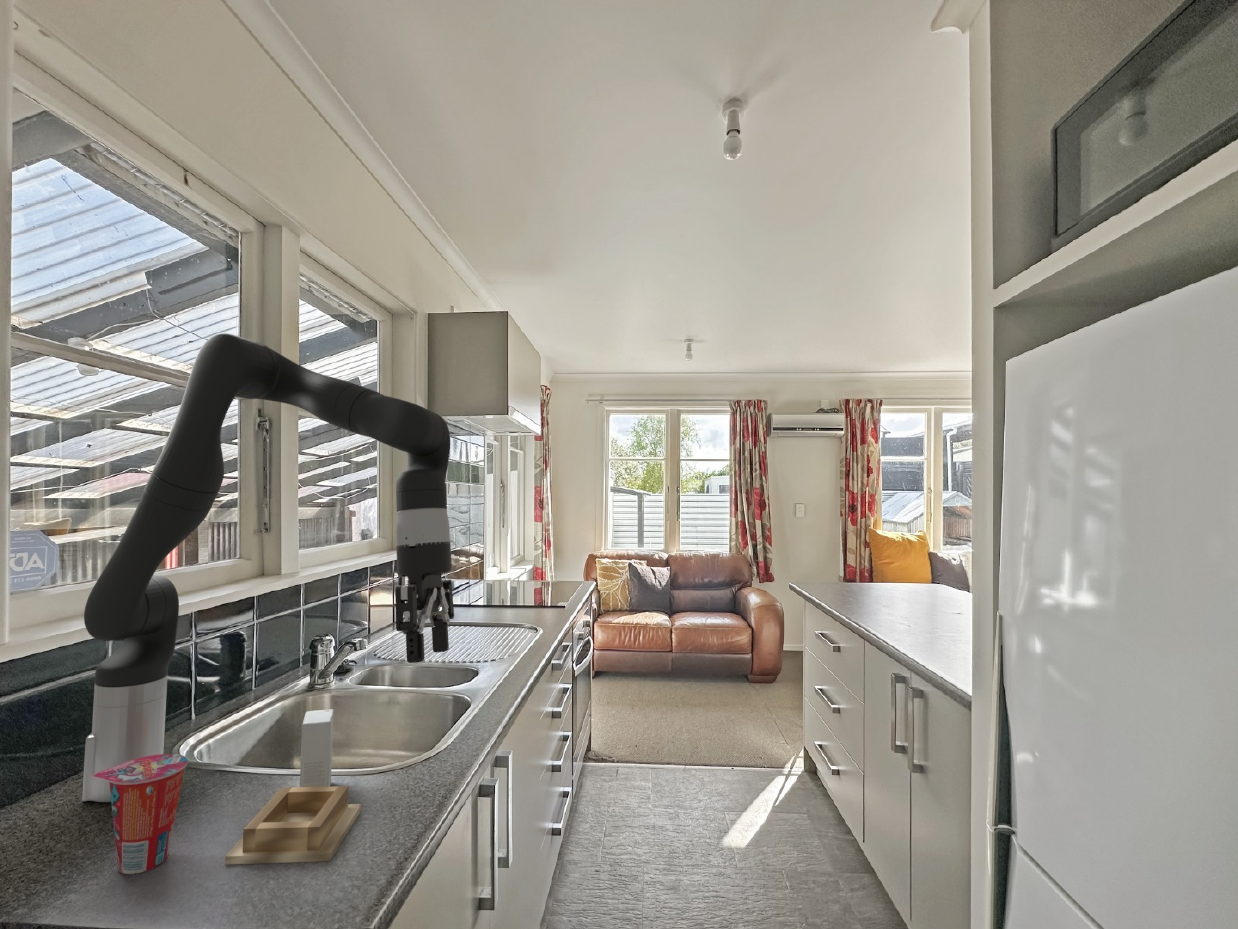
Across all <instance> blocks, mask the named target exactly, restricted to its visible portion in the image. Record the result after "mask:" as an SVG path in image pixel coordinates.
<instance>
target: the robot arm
mask: <svg viewBox="0 0 1238 929" xmlns="http://www.w3.org/2000/svg"><path fill="white" fill-rule="evenodd" d="M235 398H240V399H247V400H263V401H271V402H276V403H283V404H287V405H290V406H294V407H296V408H299V409H302V410H304V411H306V412H308V413H310V414H312V415H313V416H315V417H316V418H318V419H320V420H322V421H323V422H325V423H327V424H330V425H332V426H335V427H338V428H340V429H343V430H346V431H348V432H350V433H354V434H356V435H359V436H363V437H368V438H371V439H374V440H376V441H377V442H380V443H382V444H384V445H387V446H388V447H391V448H394V449H396V450H399V451H402V452H405V453H407V456H406V457H407V458H406V460H407V461H406V467H405V468H406V469H405V471H403V472H401V473H400V474H399V475H398V476H397V479H396V482H395V498H396V504H395V505H396V521H395V541H396V542H395V544H396V548H395V549H396V567H397V568H396V569H397V571H396V572H397V576H399V577H400V578H407V584H401V585H396V586H395V589H394V590H395V630H396V631H397V632H402V635H405V648H406V661H407V663H408V664H412V663H413V664H415V663H421V662H423V661H424V660H425V640H424V636H425V635H424V633H423V632H424V628H425V624H426V621H427V620H428V619H429V621H430V624H431V626H432V627H431V641H432V644H431V645H432V652H434V653H445V652H447V651H449V649H450V646H449V625H450V622H451V620H453V619H454V618H455V610H454V609H455V608H454V598H453V596H454V595H453V582H452V579H443V577H442V574H448V573H451V571H452V569H453V566H452V548H451V547H452V546H451V545H452V544H451V530H450V529H451V528H450V519H449V516H448V510H447V508H448V505H447V488H446V476H447V472H448V466H449V460H450V452H451V435H450V430H449V426H448V424H447V423H446V420H445V419H444V418H443V417H442V416H440V415H439V414H437V413H436V412H433V411H431V410H429V409H427V408H425V407H424V406H421V405H419V404H416V403H413V402H410V401H407V400H402V399H400V398H396V397H391V396H388V395H384V394H382V393H380V392H378V391H376V390H373V389H370V388H367V387H365V386H361V385H359V384H356V383H353V382H350V381H347V380H345V379H340V378H336V377H332V376H329V375H326V374H323V373H322V374H321V373H319V372H316V371H313V370H311V369H309V368H306V367H304V366H302V365H300V364H298V363H296V362H295V361H292V360H291V359H289V358H287V357H286V356H284V355H283V354H281V353H279V352H278V351H276V350H273V349H272V348H270V347H269V346H267V345H265V343H264V344H263V343H262V342H257V341H254V340H251V339H248V338H245V337H242V336H238V335H235V334H231V333H225V332H224V333H218V334H217V333H216V334H215V335H213V336H211V337H209V339H207V340H206V341H205V342H204V343H203V345H202V346H201V347H200V349H199V350H198V353H197V355H196V357H195V359H194V363H192V367H191V370H190V374H189V377H188V380H187V383H186V387H185V390H184V394H183V396H182V400H181V403H180V406H179V409H178V412H177V414H176V416H175V419H174V422H173V424H172V426H171V429H170V432H169V434H168V437H167V439H166V440H165V441H166V442H165V444H164V446H163V448H162V451H161V453H160V455H159V457H158V458H157V461H156V463H155V464H154V467H153V469H152V471H151V473H150V476H149V478H148V480H147V482H146V484H145V487H144V489H143V491H142V493H141V496H140V499H139V502H138V504H137V507H136V508H135V511H134V512H133V515H132V517H131V519H130V520H129V523H128V525H127V527H126V528H125V531H124V534H123V535H122V537H121V539H120V541H119V544H118V545H117V547H116V548H115V550H114V551H113V554H112V556H111V557H110V559H109V561H108V562H107V564H106V566H105V567H104V569H103V570H102V572H101V574H100V576H98V578H97V581H96V582H95V583H94V585H93V587H92V588H91V590H90V593H89V595H88V598H87V600H86V603H85V607H84V611H83V620H84V621H83V622H84V626H85V629H86V631H87V632H88V634H89V635H90V636H91V637H92V638H94V639H95V640H98V641H102V642H111V641H120V640H124V641H123V643H122V644H120V646H119V648H117V650H116V651H115V652H113V653H112V654H111V655H109V656H108V657H107V658H105V659H104V660H102V661H100V663H99V664H97V666H96V668H95V673H94V674H95V675H94V691H93V692H94V693H93V706H92V708H93V709H92V726H91V733H89V735H87V737H85V746H84V763H83V781H82V783H83V784H82V795H81V796H82V797H81V801H82V802H87V801H90V802H91V801H92V802H97V803H111V793H110V782H109V781H107V780H104V779H100V778H96V777H93V776H94V775H95V774H97V773H98V772H100V771H103V770H105V769H108V768H111V767H113V766H116V765H119V764H122V763H125V762H127V761H131V760H134V759H137V758H141V757H146V756H152V755H160V754H164V749H165V748H164V746H165V745H164V744H165V729H166V728H165V727H166V709H167V692H168V672H169V671H168V669H169V665H170V663H171V660H172V659H173V656H174V654H175V649H176V640H177V632H178V624H179V613H180V601H179V600H180V599H179V595H178V591H177V588H176V587H175V585H174V583H173V582H172V581H171V580H170V579H169V578H167V577H165V576H163V575H158V574H157V575H154V574H155V572H156V571H157V569H158V567H159V566H161V563H162V562H163V561H164V559H166V558H167V556H168V555H169V554H171V553H172V552H173V551H174V549H176V548H177V547H178V546H179V545H180V544H181V543H182V542H183V541H185V540H186V539H187V538H188V537H189V536H190V535H191V534H192V533H194V531H195V530H196V529H197V528H198V527H200V525H201V524H202V523H203V521H204V520H205V519H206V518H207V516H208V515H209V513H210V511H211V509H212V507H213V505H214V502H215V500H216V499H217V495H218V494H219V493H220V492H219V491H220V489H221V486H222V484H223V481H224V476H225V463H224V456H223V455H224V454H223V450H222V444H221V433H222V427H223V423H224V421H225V418H226V416H227V413H228V411H229V409H230V406H231V405H232V403H233V401H234V399H235Z"/></svg>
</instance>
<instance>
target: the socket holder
mask: <svg viewBox="0 0 1238 929" xmlns="http://www.w3.org/2000/svg"><path fill="white" fill-rule="evenodd" d="M361 812H362V803H350V804H349V785H341V786H339V785H338V786H331V785H330V787H300V786H296V787H295V786H294V787H293V786H292V787H288V786H287V787H286V786H285V787H281V788H280V789H279V790H277V792H276V793H275V794H274V795H273V796H272V798H270V800H269V801H268V802H267V803H266V804H265V805H264V806H263V807H262V808H261V809H260V811H259V812H258V813H256V814H255V816H254V817H253V818H252V819H251V821H250V822H248V823H247V824H246V826H244V828H243V834H242V835H243V836H242V837H241V838H240V839H239V840H238V842H237V843H236V844H235V845H234V846H233V847H232V848H231V850H230V851H228V853H227V854H226V855H225V857H224V865H248V864H249V865H251V864H253V865H254V864H279V863H304V862H305V863H309V862H312V863H313V862H331V860H333V857H334V856H335V854H336V853H337V851H338V849H339V848H340V846H341V844H342V842H343V841H344V840H345V838H346V836H347V835H348V833H349V831H350V829H351V828H352V826H353V824H354V823H355V821H356V819H357V818H358V816H359V814H360V813H361Z"/></svg>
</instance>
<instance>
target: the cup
mask: <svg viewBox="0 0 1238 929" xmlns="http://www.w3.org/2000/svg"><path fill="white" fill-rule="evenodd" d="M188 762H189V759H188V757H187V756H185V755H183V754H182V755H181V754H176V753H175V754H174V753H163V754H160V755H152V756H146V757H141V758H137V759H134V760H131V761H127V762H125V763H122V764H119V765H116V766H113V767H111V768H108V769H105V770H103V771H100V772H98V773H97V774H95V775H94V776H93V777H96V778H100V779H104V780H107V781H109V782H110V793H111V802H110V803H111V813H112V824H113V833H114V844H115V845H114V846H115V854H116V864H117V871H118V872H119V873H120V874H123V875H134V874H135V873H136V874H140V873H143V872H147V871H151V870H153V869H154V868H157V867H159V866H160V865H162V864H163V863H164V862H165V861H166V860H167V858H168V856H169V854H168V853H169V849H170V845H171V839H172V834H173V829H174V824H175V821H176V814H177V808H178V804H179V799H180V792H181V787H182V783H183V778H184V773H185V768H186V767H187V765H188Z"/></svg>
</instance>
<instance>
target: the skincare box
mask: <svg viewBox="0 0 1238 929" xmlns="http://www.w3.org/2000/svg"><path fill="white" fill-rule="evenodd" d="M333 732H334V709H333V708H331V709H320V710H310V711H309V710H308V711H306V712H305V714H304V718H303V721H302V724H301V743H300V744H301V746H300V747H301V748H300V772H299V773H300V774H299V777H300V778H299V787H331V782H332V764H333V761H332V760H333V738H334V737H333V736H334V735H333V734H334V733H333Z"/></svg>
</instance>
